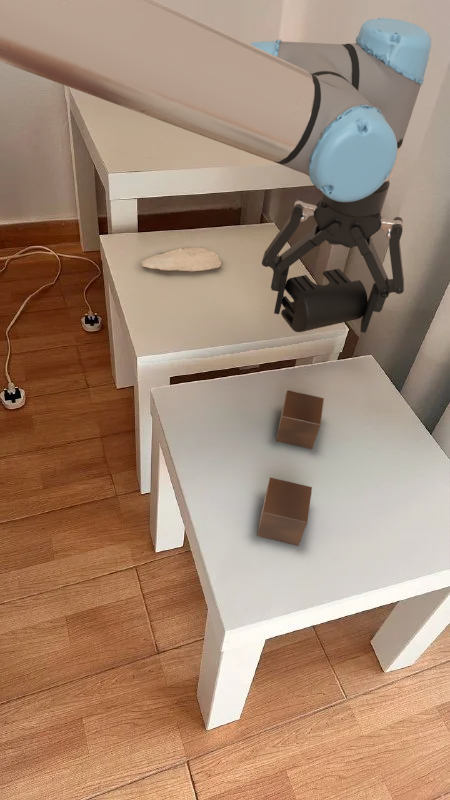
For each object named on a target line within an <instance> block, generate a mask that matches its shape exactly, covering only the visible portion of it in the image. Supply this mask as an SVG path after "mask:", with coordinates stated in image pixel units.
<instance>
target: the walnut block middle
mask: <svg viewBox="0 0 450 800" xmlns="http://www.w3.org/2000/svg"><path fill="white" fill-rule="evenodd" d="M324 400H325V398H324V397H320V396H316V395H312V394H308V393H302V392H298V391H293V390H289V389H288V390H286V393H285V397H284V402H283V406H282V409H281V413H280V417H279V423H278V428H277V433H276V439H275V441H276V442H279V443H283V444H287V445H291V446H292V445H293V446H295V447H299V448H305V449H310V450H313V449H314V446H315V442H316V440H317V436H318V434H319V430H320V427H321V423H322V415H323V408H324V402H325V401H324Z"/></svg>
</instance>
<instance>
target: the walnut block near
mask: <svg viewBox="0 0 450 800" xmlns="http://www.w3.org/2000/svg"><path fill="white" fill-rule="evenodd" d="M312 491H313V486H309V485H305V484H300V483H296V482H292V481H287V480H283V479H279V478H275V477H269V480H268V483H267V487H266V491H265V494H264V495H265V496H264V499H263V503H262V508H261V513H260V518H259V523H258V528H257V533H256V536H257V537H260V538H264V539H268V540H273V541H277V542H281V543H285V544H288V545H289V544H290V545H293V546H297V547H298V546H299V547H300V544H301V541H302V538H303V536H304V533H305V531H306V527H307V524H308V520H309V513H310V507H311V506H310V505H311V498H312Z"/></svg>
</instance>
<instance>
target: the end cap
mask: <svg viewBox="0 0 450 800" xmlns="http://www.w3.org/2000/svg"><path fill="white" fill-rule="evenodd" d="M322 275H323V277H325V278H326V280H327V281H328V283H327V284H317V283H316V282H313V281H312V280H311V279H310V278H309V277H308V275H307V274H303V275H299V276H293V277H290V278H287V281H286V285H285V290H284V291H286V293H287V294H288V295H289V296H290V297H291V298H292V300H293V301H290V299H289V298H288V297H287V296H286V295H283V299H282V304H281V306H282V307H283V308H284V309H281V311H280V315H281V317H282V318H283V319H284V321H285V322H286V323H287V324H288V326H289V328H291V330H292V331H294V332H295V333H304V332H308V331H312V330H317V329H321V328H325V327H330V326H334V325H339V324H342V323H347V322H352V321H356V320H359V319H362V317H363V315H364V314H365V312H366V309H367V303H368V299H369V298H368V293H367V289H366V287H365V286H364V283H363V282H362V281H361V280H360V279H359V280H353V281H352V280H351V279H350V278H349V277H348V276H347V275H346V274H345V273H344V272H343V271H342V270H341V269H340V268H334V269H330V270H324V271H323V272H322Z"/></svg>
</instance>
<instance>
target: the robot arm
mask: <svg viewBox="0 0 450 800" xmlns="http://www.w3.org/2000/svg"><path fill="white" fill-rule="evenodd" d="M431 49H432V38H431V36H430V34H429V32H428V31H427V30H425V29H424V28H423V27H421V26H420V25H418V24H415V23H413V22H409V21H407V20H404V19H403V20H402V19H398V18H391V17H378V18H369V19H367V20H366V21H364V22H363V24H361V26H360V29H359V31H358V34H357V36H356V37H355V43H344V44H343V43H324V42H323V43H322V42H321V43H320V42H304V41H303V42H302V41H283V40H282V39H276V40H267V41H264V40H263V41H252V42H250V43H248V42H245V41H244V40H242V39H240V38H238V37H235V36H233V35H231V34H229V33H226V32H224V31H222V30H221V29H218V28H216V27H213V26H211V25H209V24H207V23H205V22H203V21H200V20H199V19H196V18H194V17H192V16H190V15H188V14H186V13H183V12H181V11H179V10H177V9H175V8H172V7H170V6H169V5H166V4H164V3H162V2H160V1H158V0H0V63H2V64H5V65H8V66H11V67H14V68H16V69H19V70H22V71H24V72H28V73H30V74H32V75H35V76H38V77H41V78H43V79H47V80H49V81H52V82H55V83H57V84H60V85H63V86H65V87H69V88H71V89H74V90H76V91H79V92H81V93H84V94H87V95H90V96H93V97H96V98H98V99H100V100H104V101H106V102H109V103H112V104H115V105H117V106H120V107H123V108H125V109H128V110H131V111H134V112H136V113H139V114H142V115H145V116H147V117H150V118H152V119H154V120H155V119H156V120H158V121H161V122H163V123H166V124H168V125H172V126H174V127H177V128H179V129H182V130H185V131H188V132H191V133H194V134H196V135H199V136H202V137H205V138H208V139H210V140H212V141H215V142H219V143H221V144H223V145H226V146H229V147H232V148H234V149H237V150H240V151H243V152H245V153H248V154H251V155H254V156H256V157H259V158H261V159H265V160H267V161H269V162H273V163H275V164H278V165H280V166H283V167H286V168H288V169H291V170H293V171H296V172H299V173H301V174H304V175H305V176H307V177H309V180H310V182H311V183H312V185H313V186H314V187H315V188H316V189H317V190H319V191H321V197H320V200H319V202H318V203H317V204H316V205H315V204H311V203H308V202H305V199H304V198H302V197H297V198H296V199H295V201H294V203H293V208H292V212H291V214H290V215H289V217H288V219H287V220H286V221H285V222H284V224H283V225H282V227H281V228H280V230H279V231H278V233H277V234H276V235H275V237H274V238H273V239H272V240H271V242H270V244H269V245H268V246H267V248H266V250H265V251H264V254H263V257H262V260H261V265H262V266H263V267H265V268H270V269H272V271H273V274H272V279H271V284H270V290H271V291H273V292H277V296H276V300H275V306H274V310H273V314H274V315H280V313H281V309H282V299H283V296H285V295H284V294H285V291H286V290H285V286H286V282H287V280H288V275H289V271H290V267H291V266H293V265H294V264H295V263H296V262H298V260H300V259H301V258H303V257H304V256H305V255H307V254H308V253H309V252H310V251H311V250H313V249H314V248H315V247H319V246H320V245H321V244H323V243H324V242H325V241H326V242H328V244H329V245H333V246H337V245H340V246H343V247H345V248H349V249H353V248H355V247H357V249H358V252H359V253H360V256H362V257H363V260H364V261H365V264H366V266H367V268H368V270H369V273H370V275H371V277H372V279H373V284H372V287H371V290H370V293H369V296H368V298H367V299H368V303H367V309H366V312H365V314H364V315H363V316H362V317H361V319H360V321H361V322H360V333H367V331H368V327H369V324H370V321H371V319H372V316H373V313H381V311H383V307H384V304H385V302H386V299H387V298H389V295H390V294H391V293H395V294H397V295H401V294H403V293H404V291H405V277H404V268H403V267H404V266H403V258H402V250H401V237H402V235H403V229H404V228H403V226H404V225H403V223H404V222H403V218H402V217H400V216H395V217H394V218H393V219H389V218H382V210H383V207H384V204H385V202H386V198H387V196H388V195H387V194H388V192H389V188H390V184H391V183H390V180H391V179H392V177H393V176H394V173H395V170H396V166H397V163H398V160H399V156H400V152H401V149H402V147H403V142H404V140H405V139H404V138H405V136H406V133H407V130H408V127H409V124H410V121H411V118H412V115H413V111H414V109H415V105H416V103H417V100H418V96H419V93H420V89H421V87H422V85H423V83H424V81H425V74H426V71H427V68H428V67H427V66H428V63H429V60H430V53H431ZM310 217H313V219H314V221H315V223H316V224H315V225H314V226H313V228H311V230H310V231H309V232H308V233H306V234H305V235H304V236H302V237H301V238H300V239H298V241H296V242H295V243H294V244H292V245H291V246H290V247H289V248H288V249H286V250H285V251H284V252H283V253H281V254H280V252H281V251H282V250H283V249H284V247H285V246H286V244H287V243H288V242H289V240H290V239H291V237H292V236H293V235H294V233H295V232H296V230H297V228H298V227H299V225H300V223H303V222H306V221H307V220H308V218H310ZM380 230H381V231H382V232H383V236H384V238H385V239H387V240H388V248H389V257H390V266H391V274H392V278H389V277H388V274H387V272H386V271H385V268H384V265H383V263H382V261H381V259H380V257H379V254H378V252H377V250H376V247H375V245H374V243H373V238H372V236H373V235H375V234H376V233H377V232H379V231H380Z"/></svg>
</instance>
